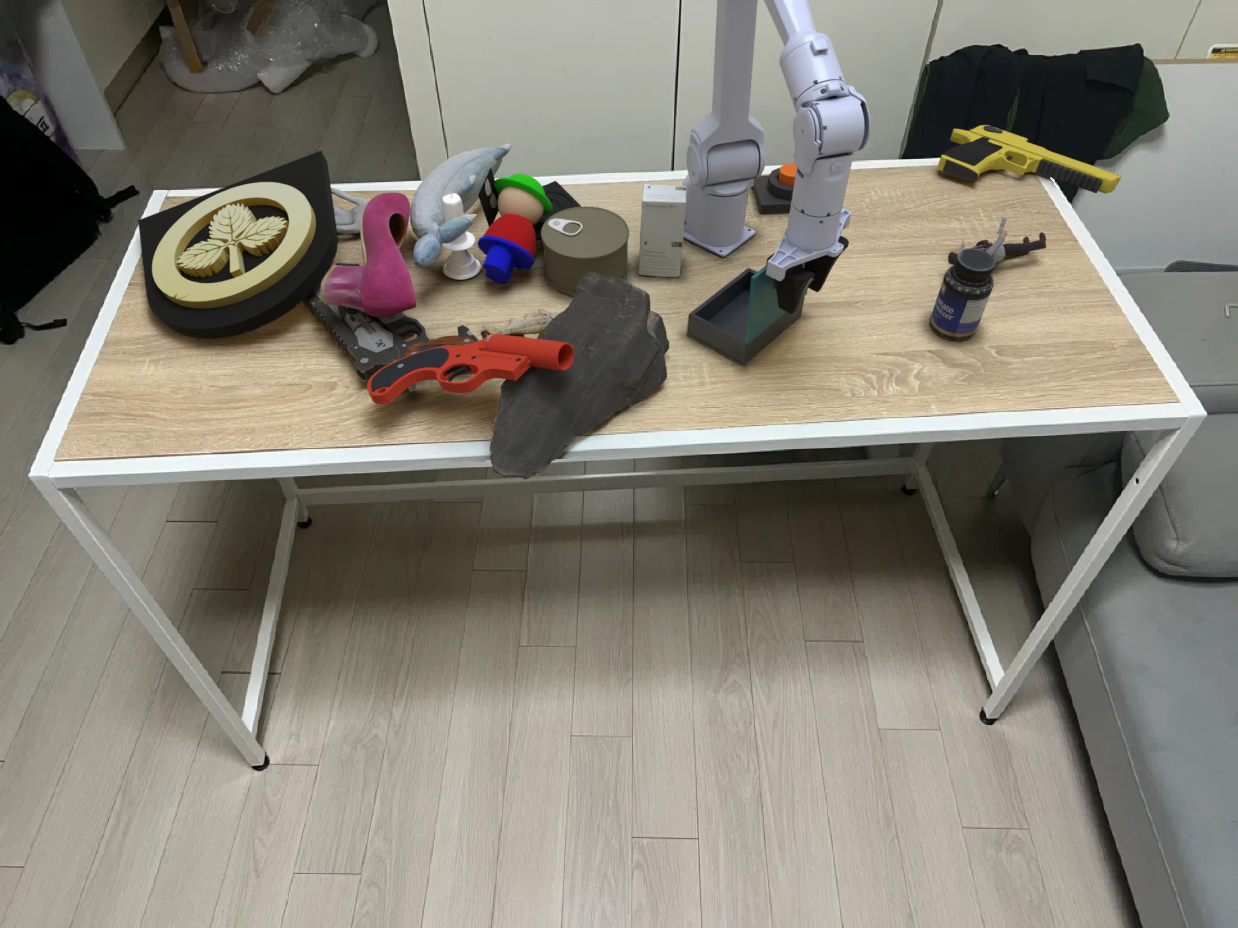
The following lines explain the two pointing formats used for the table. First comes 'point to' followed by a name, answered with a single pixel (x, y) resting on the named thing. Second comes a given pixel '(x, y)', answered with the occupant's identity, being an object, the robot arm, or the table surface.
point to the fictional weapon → (376, 334)
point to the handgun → (1018, 159)
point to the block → (772, 194)
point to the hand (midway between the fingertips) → (799, 298)
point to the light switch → (555, 204)
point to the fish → (525, 325)
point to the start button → (787, 174)
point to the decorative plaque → (241, 251)
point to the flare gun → (469, 364)
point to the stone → (581, 375)
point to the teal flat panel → (764, 303)
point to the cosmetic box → (662, 230)
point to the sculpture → (449, 177)
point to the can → (584, 246)
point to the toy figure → (510, 223)
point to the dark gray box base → (734, 321)
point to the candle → (459, 244)
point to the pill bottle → (963, 295)
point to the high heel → (376, 263)
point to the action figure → (1003, 246)
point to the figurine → (348, 213)
